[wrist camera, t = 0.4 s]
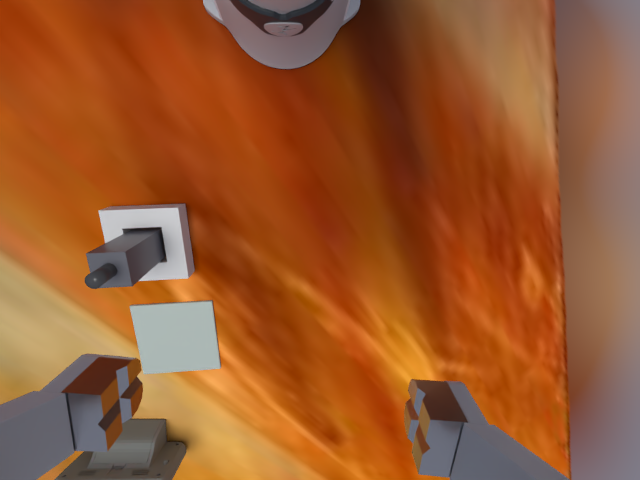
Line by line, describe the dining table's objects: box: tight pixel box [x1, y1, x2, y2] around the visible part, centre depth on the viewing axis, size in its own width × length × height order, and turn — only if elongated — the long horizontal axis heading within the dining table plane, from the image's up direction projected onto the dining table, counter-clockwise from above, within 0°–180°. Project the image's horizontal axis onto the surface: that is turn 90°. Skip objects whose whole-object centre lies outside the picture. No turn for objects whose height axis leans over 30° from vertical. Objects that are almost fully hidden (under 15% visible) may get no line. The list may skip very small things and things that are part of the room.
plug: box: [85, 227, 166, 289], centre depth 40 cm, size 4×4×15 cm
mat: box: [130, 300, 221, 374], centre depth 51 cm, size 12×12×1 cm
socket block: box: [99, 204, 195, 281], centre depth 45 cm, size 10×10×3 cm
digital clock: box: [55, 419, 186, 480], centre depth 51 cm, size 16×9×11 cm, turn 74°
